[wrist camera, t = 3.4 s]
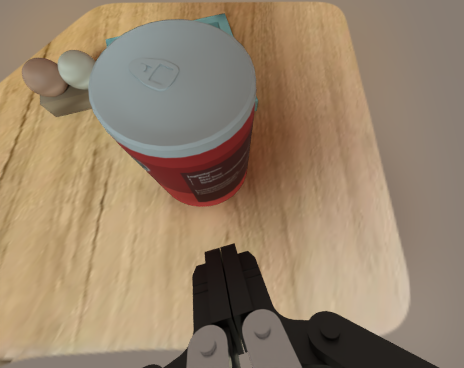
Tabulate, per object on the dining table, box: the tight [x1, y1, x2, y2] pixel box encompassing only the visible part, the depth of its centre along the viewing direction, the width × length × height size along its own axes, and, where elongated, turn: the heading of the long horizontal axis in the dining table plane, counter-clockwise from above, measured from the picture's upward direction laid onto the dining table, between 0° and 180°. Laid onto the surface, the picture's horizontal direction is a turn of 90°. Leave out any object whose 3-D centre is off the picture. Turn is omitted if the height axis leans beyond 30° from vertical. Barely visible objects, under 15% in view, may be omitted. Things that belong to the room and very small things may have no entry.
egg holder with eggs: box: [22, 50, 95, 117], centre depth 21 cm, size 6×3×5 cm, turn 106°
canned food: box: [88, 19, 256, 206], centre depth 16 cm, size 8×8×11 cm
